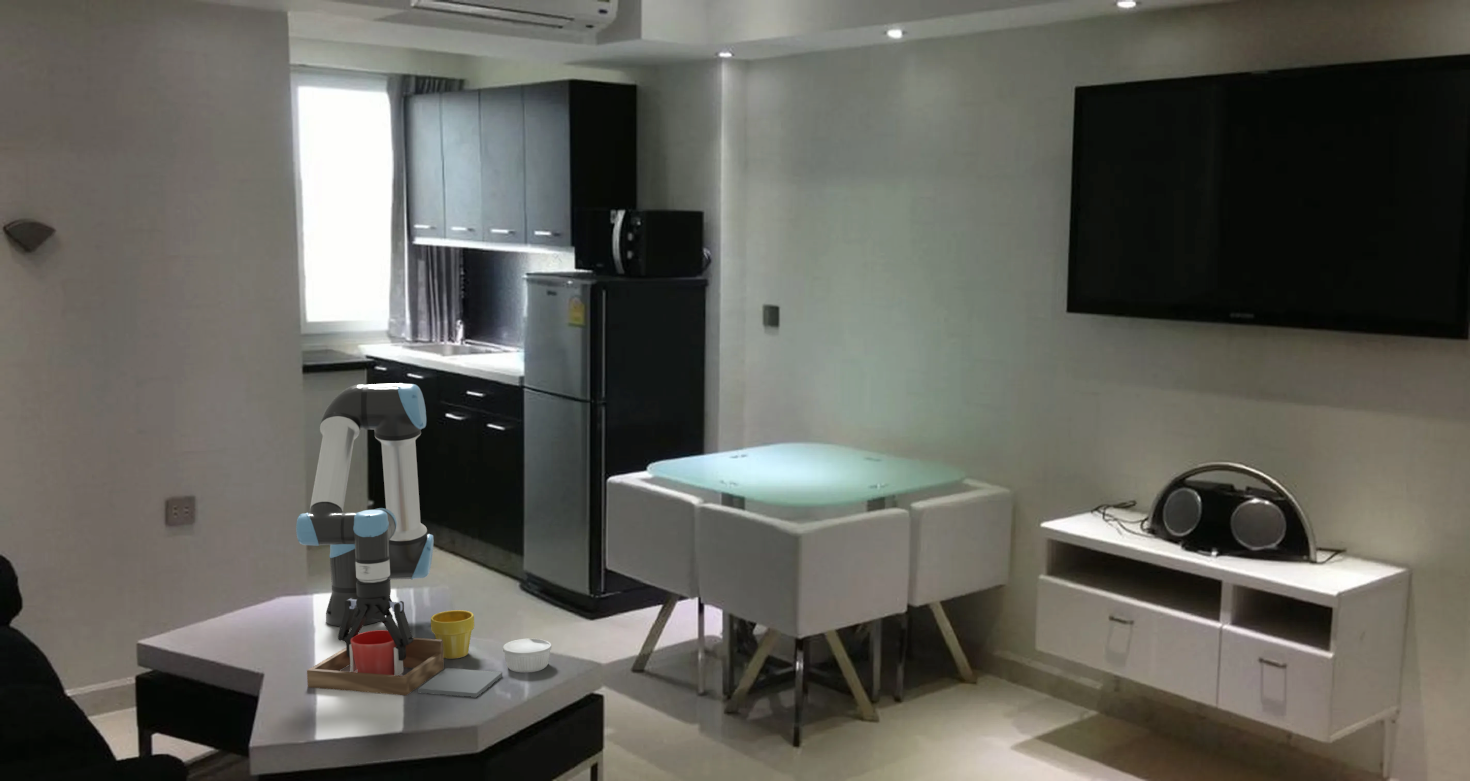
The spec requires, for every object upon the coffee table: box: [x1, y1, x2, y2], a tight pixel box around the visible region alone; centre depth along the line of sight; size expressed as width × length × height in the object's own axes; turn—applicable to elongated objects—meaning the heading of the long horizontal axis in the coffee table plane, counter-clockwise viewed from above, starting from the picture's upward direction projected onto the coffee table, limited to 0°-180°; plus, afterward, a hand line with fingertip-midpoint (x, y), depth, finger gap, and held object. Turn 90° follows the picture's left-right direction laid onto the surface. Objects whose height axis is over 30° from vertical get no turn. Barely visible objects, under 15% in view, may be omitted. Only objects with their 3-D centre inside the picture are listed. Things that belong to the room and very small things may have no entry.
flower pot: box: [351, 629, 397, 675], centre depth 291 cm, size 11×11×10 cm
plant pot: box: [430, 609, 475, 660], centre depth 307 cm, size 10×10×10 cm
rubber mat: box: [417, 667, 503, 698], centre depth 287 cm, size 14×14×1 cm
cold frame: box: [306, 637, 445, 696], centre depth 291 cm, size 18×24×7 cm
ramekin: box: [502, 637, 552, 673], centre depth 299 cm, size 11×11×5 cm
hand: (376, 671), depth 291 cm, fingers closed on flower pot, 10 cm apart
